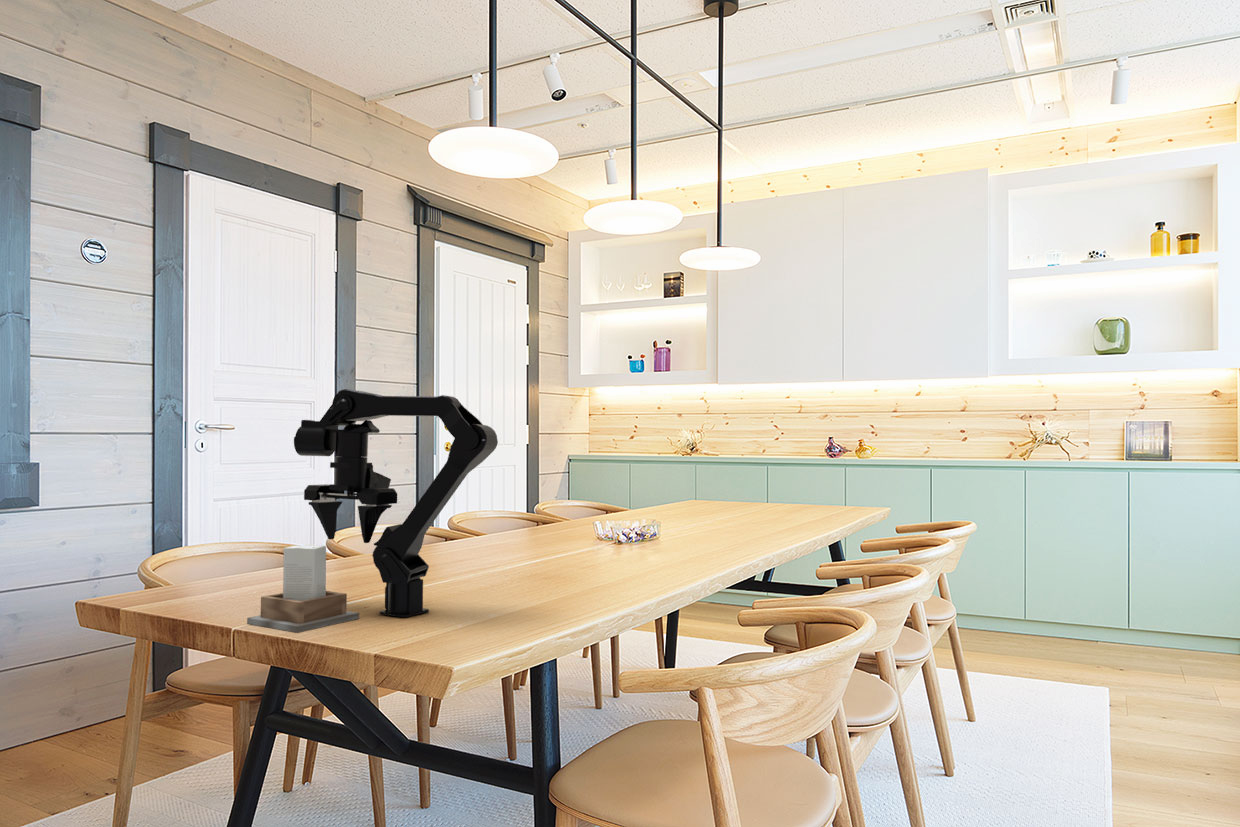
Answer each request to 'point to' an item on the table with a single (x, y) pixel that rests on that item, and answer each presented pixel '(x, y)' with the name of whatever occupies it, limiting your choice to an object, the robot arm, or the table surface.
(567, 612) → the table surface
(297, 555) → the skincare box
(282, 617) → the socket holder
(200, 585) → the table surface
